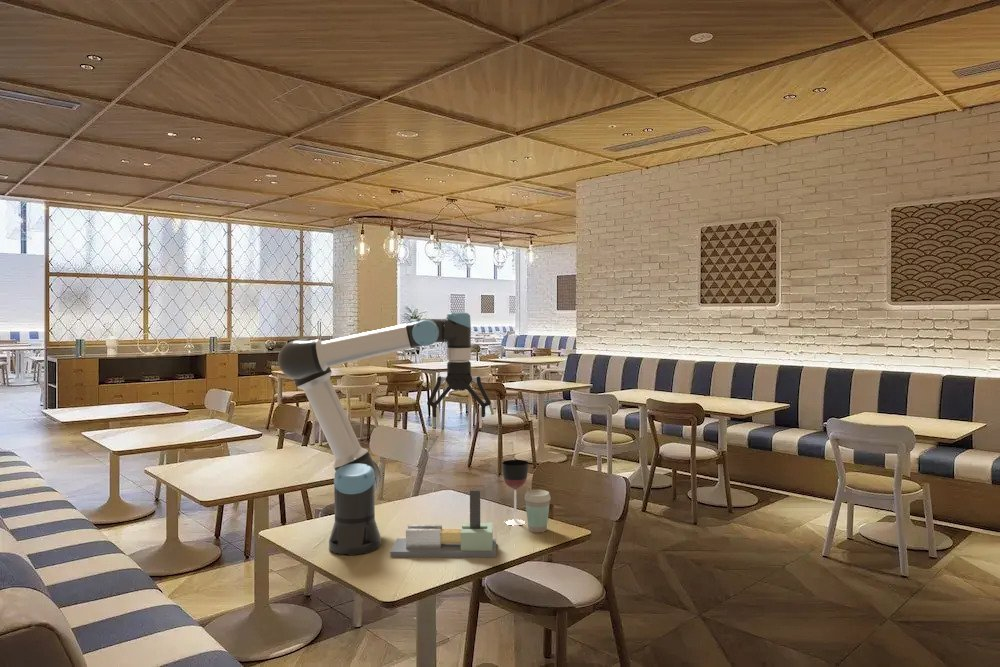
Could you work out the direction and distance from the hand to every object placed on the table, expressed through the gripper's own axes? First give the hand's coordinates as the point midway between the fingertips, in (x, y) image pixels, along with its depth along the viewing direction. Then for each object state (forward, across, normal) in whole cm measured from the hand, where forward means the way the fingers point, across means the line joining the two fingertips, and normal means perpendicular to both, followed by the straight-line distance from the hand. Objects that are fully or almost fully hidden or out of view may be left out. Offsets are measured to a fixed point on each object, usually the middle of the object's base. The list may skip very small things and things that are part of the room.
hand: (459, 427), depth 213 cm
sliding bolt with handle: (+30, -2, +19) cm, 36 cm away
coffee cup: (+33, -25, +1) cm, 41 cm away
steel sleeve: (+31, +9, +19) cm, 38 cm away
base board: (+33, +3, +19) cm, 38 cm away
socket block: (+31, -7, +19) cm, 37 cm away
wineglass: (+33, -18, -6) cm, 38 cm away
